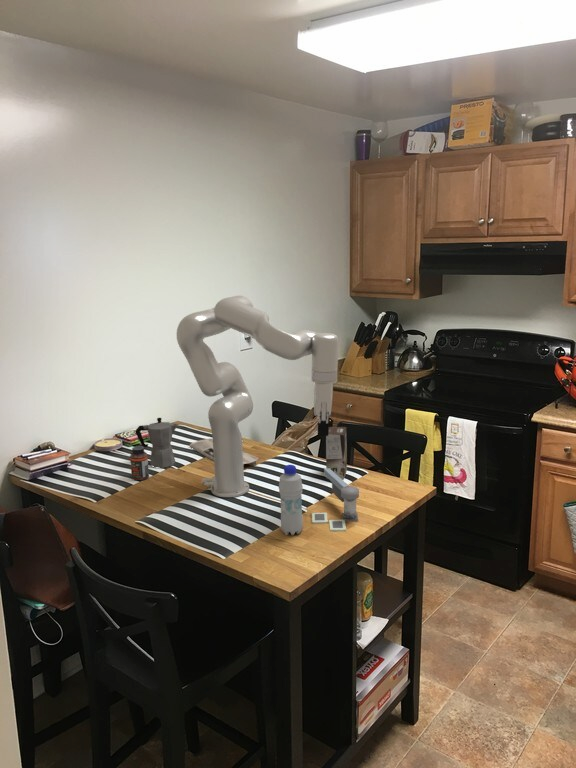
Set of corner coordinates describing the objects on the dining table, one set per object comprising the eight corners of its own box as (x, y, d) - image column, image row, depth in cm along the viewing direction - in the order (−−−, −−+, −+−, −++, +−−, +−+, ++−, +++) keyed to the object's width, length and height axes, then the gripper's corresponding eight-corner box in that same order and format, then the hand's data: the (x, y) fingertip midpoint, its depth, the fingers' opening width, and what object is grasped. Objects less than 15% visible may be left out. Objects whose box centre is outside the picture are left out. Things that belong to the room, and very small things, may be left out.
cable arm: (361, 510, 181) (361, 491, 180) (345, 513, 180) (345, 494, 178) (334, 484, 200) (334, 467, 199) (319, 487, 199) (319, 469, 197)
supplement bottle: (128, 480, 217) (125, 449, 214) (138, 474, 222) (135, 444, 220) (142, 482, 215) (139, 451, 212) (152, 475, 220) (150, 445, 217)
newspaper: (189, 448, 249) (188, 439, 248) (216, 441, 256) (216, 433, 255) (234, 474, 221) (233, 465, 220) (263, 466, 228) (263, 457, 227)
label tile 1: (312, 523, 181) (312, 521, 181) (311, 514, 187) (311, 512, 187) (327, 522, 181) (327, 521, 181) (326, 513, 187) (326, 512, 187)
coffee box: (344, 479, 212) (344, 434, 208) (325, 478, 213) (325, 434, 209) (347, 470, 220) (347, 426, 217) (329, 469, 222) (328, 425, 218)
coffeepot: (180, 457, 237) (176, 412, 233) (181, 466, 228) (178, 419, 224) (138, 462, 234) (134, 416, 230) (138, 471, 225) (134, 423, 221)
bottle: (279, 526, 179) (277, 461, 175) (302, 525, 180) (300, 460, 175) (281, 538, 173) (278, 470, 168) (305, 536, 173) (303, 469, 169)
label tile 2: (330, 531, 176) (330, 529, 176) (329, 521, 182) (329, 519, 182) (346, 530, 176) (346, 529, 176) (344, 521, 182) (344, 519, 182)
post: (343, 521, 182) (342, 500, 180) (342, 514, 186) (342, 494, 184) (358, 521, 182) (358, 500, 180) (356, 514, 186) (356, 494, 184)
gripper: (311, 369, 189) (310, 426, 194) (311, 381, 174) (310, 443, 179) (336, 369, 189) (334, 427, 193) (338, 382, 174) (336, 444, 179)
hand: (322, 434), depth 186 cm, fingers closed
